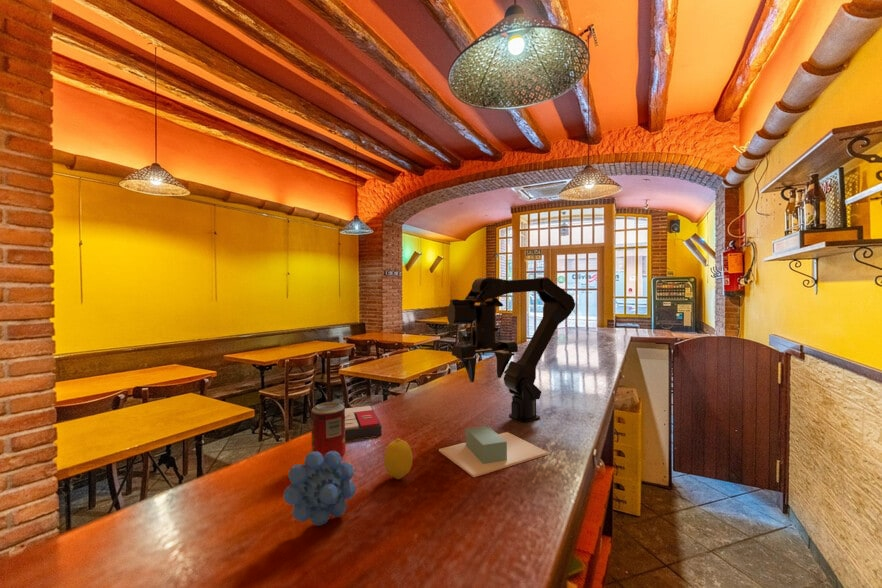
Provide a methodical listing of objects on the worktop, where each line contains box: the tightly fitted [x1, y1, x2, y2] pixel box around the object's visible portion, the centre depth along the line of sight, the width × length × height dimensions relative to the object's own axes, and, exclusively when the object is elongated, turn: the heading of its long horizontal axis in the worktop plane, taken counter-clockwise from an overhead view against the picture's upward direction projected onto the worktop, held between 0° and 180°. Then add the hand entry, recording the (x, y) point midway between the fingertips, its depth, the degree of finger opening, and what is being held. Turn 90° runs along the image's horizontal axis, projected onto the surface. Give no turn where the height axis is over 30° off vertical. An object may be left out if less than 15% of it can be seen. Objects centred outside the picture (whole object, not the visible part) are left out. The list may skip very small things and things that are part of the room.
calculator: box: [345, 405, 383, 442], centre depth 102 cm, size 11×4×15 cm
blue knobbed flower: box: [283, 451, 357, 527], centre depth 60 cm, size 12×7×12 cm, turn 130°
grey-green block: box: [465, 425, 507, 464], centre depth 85 cm, size 10×6×4 cm, turn 17°
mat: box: [438, 431, 549, 478], centre depth 86 cm, size 20×14×1 cm
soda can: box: [310, 401, 346, 459], centre depth 83 cm, size 7×7×12 cm
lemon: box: [383, 437, 414, 480], centre depth 74 cm, size 6×6×8 cm
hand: (485, 379), depth 104 cm, fingers open, 9 cm apart
